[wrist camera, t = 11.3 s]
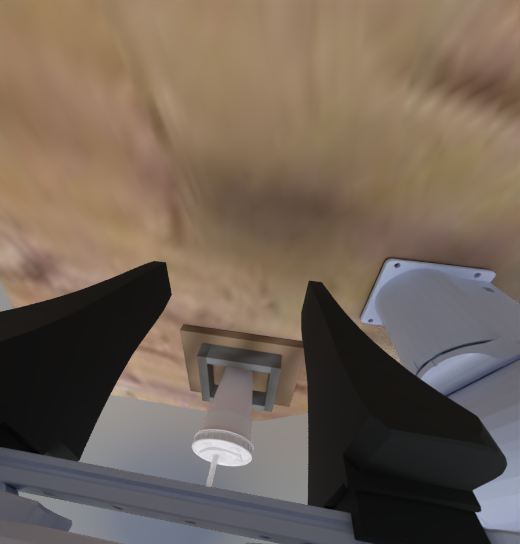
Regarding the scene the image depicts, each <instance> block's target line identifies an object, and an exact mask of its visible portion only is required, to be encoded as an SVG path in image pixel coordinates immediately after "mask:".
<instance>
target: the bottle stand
mask: <svg viewBox="0 0 520 544" xmlns="http://www.w3.org/2000/svg"><path fill="white" fill-rule="evenodd" d="M180 333H181V339H182V344H183V350H184V356H185V362H186V367H187V373H188V379H189V384H190V390H191V391H195V392H201V393H202V400H203V401H209V402H212V401H213V398H214V396H215V393H216V391H217V389H218V386H219V384H220V382H221V379H222V377H223V374H224V372H225V370H226V367H233V368H240V369H246V370H253V391H252V409H258V410H264V411H270V412H272V410H273V405H274V404H275V405H281V406H287V407H289V406H290V403H291V400H292V396H293V393H294V389H295V386H296V382H297V379H298V375H299V372H300V369H301V365H302V362H303V358H304V348H303V342H301V341H294V340H287V339H280V338H273V337H266V336H259V335H252V334H245V333H238V332H231V331H225V330H218V329H211V328H204V327H197V326H190V325H183V326H182V328H181V329H180Z"/></svg>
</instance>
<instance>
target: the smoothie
mask: <svg viewBox="0 0 520 544" xmlns="http://www.w3.org/2000/svg"><path fill="white" fill-rule="evenodd" d="M252 391H253V370H246V369H240V368H233V367H226V370H225V372H224V374H223V377H222V379H221V382H220V384H219V386H218V389H217V391H216V393H215V396H214V398H213V401H212V403H211V405H210V408H209V410H208V412H207V415H206V417H205V419H204V422H203V425H202V427H201V429H200V431H198V432H197V433H196V434H195V437H194V441H193V445H192V448H193V451H194V452H195V453H196V454H197V455H198V456H199V457H201V458H203V459H205V460H207V461H209V462H211V467H210V471H209V475H208V479H207V483H206V486H209V487H212V483H213V479H214V474H215V470H216V465H217V464H219V465H225V466H241V465H246V464H248V463H249V462H250V461H251V460H252V454H253V450H254V446H253V444H252V442H251V429H252Z"/></svg>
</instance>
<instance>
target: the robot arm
mask: <svg viewBox="0 0 520 544" xmlns="http://www.w3.org/2000/svg"><path fill="white" fill-rule="evenodd" d="M396 263H399V264H398V265H397V266H394V265H395V264H396ZM476 273H477V274H476ZM475 274H476V275H475ZM495 275H496V274H495V273H494V272H493V271H491V270H486V269H477V268H469V267H461V266H452V265H444V264H435V263H427V262H418V261H410V260H401V259H393V258H391V259H388V260H386V261H385V263H384V265H383V268H382V270H381V272H380V274H379V277H378V279H377V281H376V283H375V286H374V288H373V290H372V292H371V295H370V297H369V299H368V301H367V304H366V306H365V308H364V310H363V313H362V315H361V317H360V319H361V322H363V323H367V324H375V325H382V326H384V328H385V330H386V332H387V334H388V336H389V338H390V340H391V342H392V344H393V346H394V348H395V350H396V352H397V354H398V356H399V358H400V360H401V362H402V364H403V366H404V367H403V366H402V365H401V364H400V363H398V362H397V361H396V360H395V359H393V358H392V357H391V356H390V355H388V354H387V353H386V352H385V351H384V350H382V349H381V348H380V347H379V346H378V345H377V344H376V343H374V342H373V341H372V340H371V339H370V338H369V337H368V336H367V335H366V334H365V333H364V332H363V331H362V330H361V329H360V328H359V327H358V326H357V325H356V324H355V323H354V322H353V321H352V320H351V319H350V318H349V316H348V315H347V314H346V313H345V312H344V311H343V309H342V308H341V307H340V306H339V305H338V303H337V302H336V301H335V299H334V298H333V297H332V295H331V294H330V293H329V291H328V290H327V289H326V287H325V286H324V285H323V283H322V282H315V281H309V283H308V287H307V291H306V295H305V299H304V304H303V308H302V312H301V331H302V340H303V348H304V356H305V364H306V372H307V383H308V426H309V427H308V429H309V430H308V432H309V436H308V439H309V442H308V445H309V447H308V449H309V450H308V452H309V453H308V454H309V455H308V457H309V459H308V460H309V461H308V462H309V463H308V465H309V466H308V505H304V504H299V503H294V502H288V501H282V500H278V499H272V498H267V497H262V496H257V495H251V494H246V493H241V492H235V491H230V490H225V489H219V488H214V487H209V486H204V485H198V484H193V483H187V482H182V481H177V480H171V479H167V478H161V477H156V476H151V475H145V474H140V473H135V472H129V471H124V470H119V469H114V468H108V467H103V466H97V465H92V464H87V463H82V462H78V461H79V460H80V458H81V455H82V453H83V451H84V448H85V446H86V444H87V442H88V440H89V437H90V435H91V433H92V431H93V429H94V426H95V424H96V422H97V420H98V418H99V416H100V414H101V412H102V410H103V407H104V406H105V404H106V402H107V400H108V398H109V396H110V394H111V392H112V390H113V388H114V386H115V385H116V383H117V381H118V379H119V377H120V375H121V373H122V372H123V370H124V368H125V367H126V365H127V363H128V361H129V360H130V358H131V356H132V355H133V353H134V352H135V350H136V349H137V347H138V346H139V344H140V343H141V341H142V340H143V339H144V337H145V336H146V335H147V333H148V332H149V330H150V329H151V328H152V326H153V325H154V324H155V322H156V321H157V319H158V318H159V316H160V315H161V314H162V312H163V311H164V309H165V307H166V305H167V303H168V301H169V299H170V297H171V295H172V293H171V288H170V282H169V277H168V271H167V266H166V262H158V261H153V262H150V263H147V264H144V265H142V266H139V267H137V268H134V269H132V270H130V271H127V272H125V273H123V274H120V275H118V276H116V277H113V278H111V279H108V280H106V281H103V282H100V283H98V284H95V285H93V286H90V287H87V288H85V289H82V290H79V291H76V292H73V293H70V294H67V295H64V296H60V297H57V298H54V299H50V300H46V301H43V302H39V303H35V304H31V305H27V306H23V307H20V308H15V309H11V310H6V311H2V312H0V544H121V543H117V542H113V541H108V540H104V539H99V538H95V537H91V536H85V535H81V534H76V533H72V532H68V531H69V529H70V528H71V526H72V521H71V520H69V519H67V518H64V517H62V516H60V515H58V514H56V513H54V512H52V511H50V510H48V509H47V508H45V507H44V506H43V505H41V504H40V503H39V502H37V501H34V500H31V499H28V498H24V497H21V496H19V495H18V491H21V492H25V493H30V494H35V495H40V496H45V497H50V498H55V499H60V500H65V501H70V502H75V503H80V504H86V505H91V506H95V507H100V508H105V509H110V510H115V511H120V512H125V513H130V514H135V515H140V516H145V517H150V518H155V519H160V520H165V521H170V522H175V523H180V524H185V525H190V526H195V527H200V528H205V529H210V530H215V531H219V532H225V533H229V534H234V535H239V536H244V537H250V538H255V539H259V540H264V541H270V542H274V543H279V544H520V304H519V303H518V302H517V301H515V300H514V299H512V298H511V297H510V296H508V295H507V294H505V293H504V292H503V291H501V290H500V289H498V288H497V287H496V286H494V285H493V284H491V283H490V282H491V281H492V280H493V279H494V277H495ZM369 319H371V320H369ZM246 544H259V543H246Z"/></svg>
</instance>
